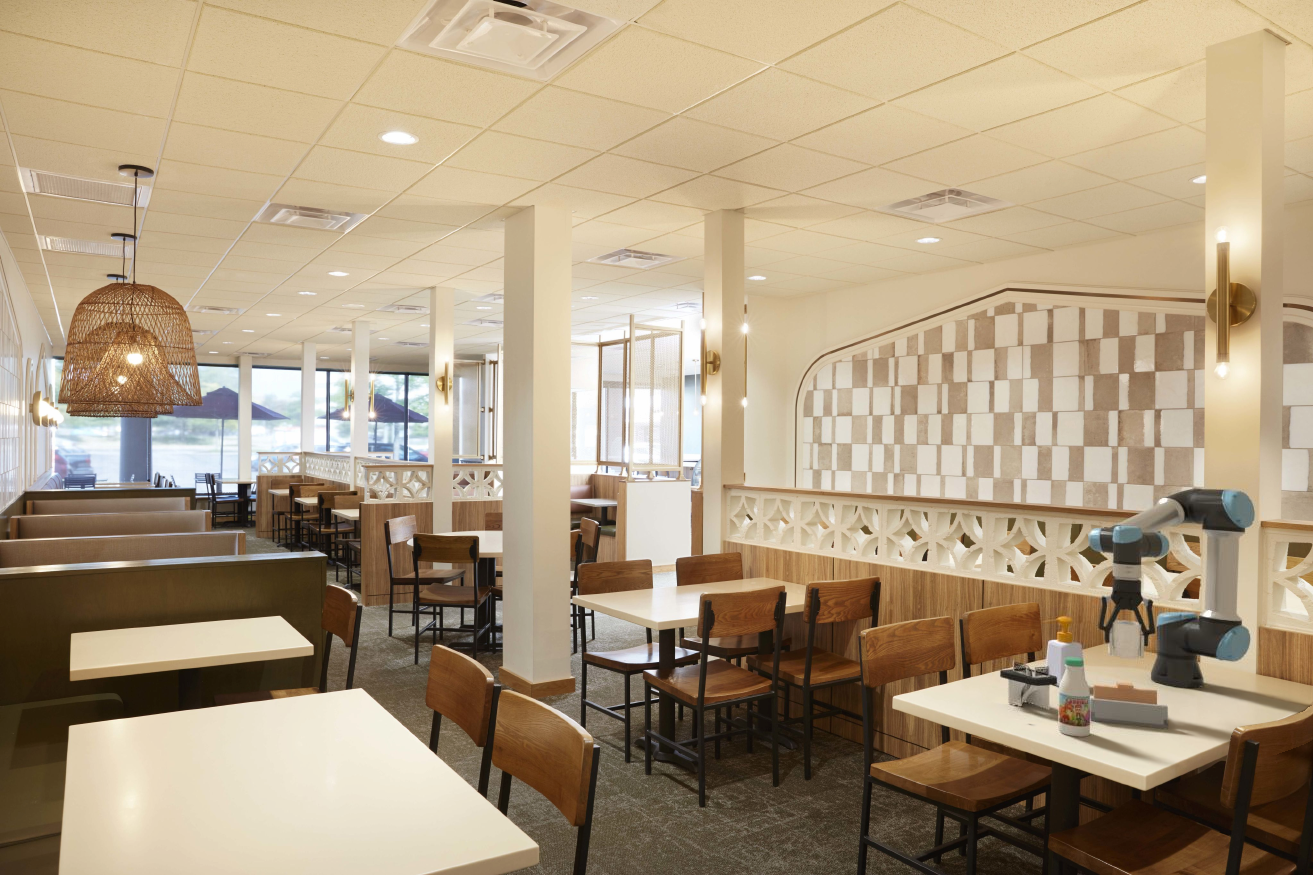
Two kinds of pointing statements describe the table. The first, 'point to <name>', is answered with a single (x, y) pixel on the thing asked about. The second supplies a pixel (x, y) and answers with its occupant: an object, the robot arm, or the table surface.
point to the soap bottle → (1062, 649)
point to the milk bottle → (1074, 700)
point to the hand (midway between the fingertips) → (1125, 655)
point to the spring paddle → (1125, 693)
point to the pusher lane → (1129, 713)
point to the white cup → (1126, 639)
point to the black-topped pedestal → (1028, 684)
